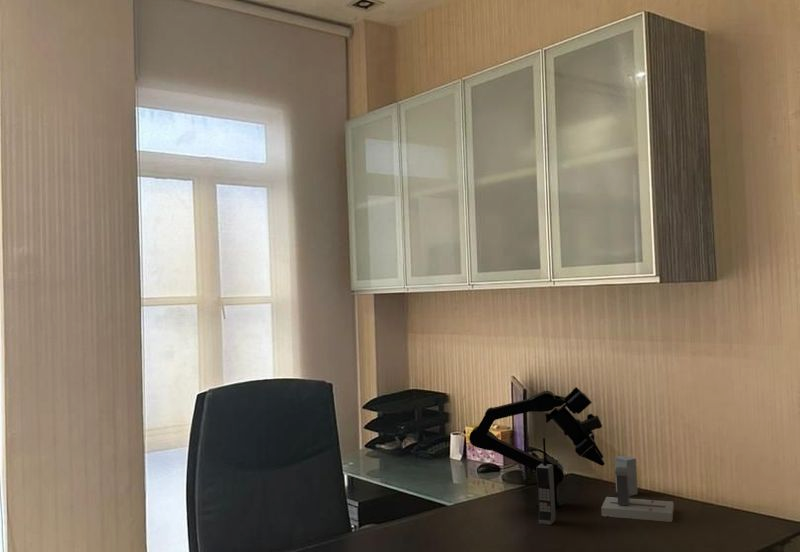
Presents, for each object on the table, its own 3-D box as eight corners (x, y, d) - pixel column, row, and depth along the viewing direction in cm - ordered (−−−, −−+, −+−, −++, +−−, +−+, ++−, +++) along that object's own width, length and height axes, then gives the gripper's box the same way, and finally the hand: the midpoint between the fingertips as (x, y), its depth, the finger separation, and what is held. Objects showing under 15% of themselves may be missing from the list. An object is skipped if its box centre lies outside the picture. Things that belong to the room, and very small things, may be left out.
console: (601, 516, 215) (601, 507, 215) (606, 504, 226) (606, 496, 226) (672, 522, 207) (671, 513, 207) (673, 509, 218) (673, 501, 218)
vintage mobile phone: (538, 523, 210) (534, 439, 211) (543, 518, 214) (539, 436, 215) (551, 525, 208) (547, 440, 209) (555, 520, 213) (551, 436, 213)
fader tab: (616, 504, 216) (615, 471, 216) (618, 499, 221) (617, 466, 222) (629, 505, 215) (627, 472, 215) (630, 500, 220) (629, 467, 220)
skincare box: (615, 492, 239) (613, 456, 239) (625, 490, 241) (623, 454, 241) (628, 496, 234) (626, 460, 234) (638, 494, 235) (636, 458, 236)
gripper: (587, 412, 216) (624, 451, 213) (586, 402, 234) (620, 438, 231) (560, 435, 217) (596, 475, 215) (561, 424, 236) (594, 460, 233)
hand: (602, 461), depth 223 cm, fingers open, 9 cm apart
